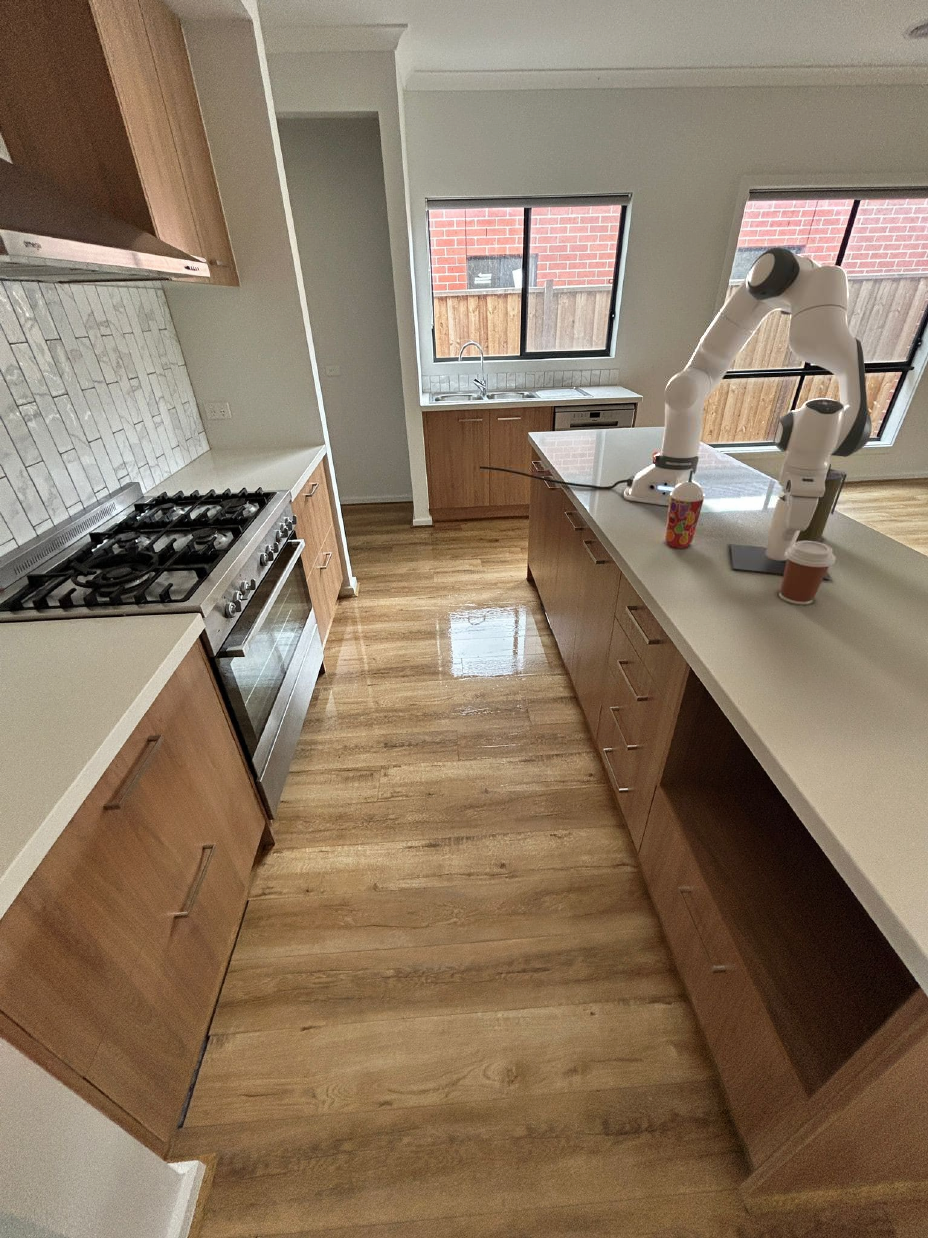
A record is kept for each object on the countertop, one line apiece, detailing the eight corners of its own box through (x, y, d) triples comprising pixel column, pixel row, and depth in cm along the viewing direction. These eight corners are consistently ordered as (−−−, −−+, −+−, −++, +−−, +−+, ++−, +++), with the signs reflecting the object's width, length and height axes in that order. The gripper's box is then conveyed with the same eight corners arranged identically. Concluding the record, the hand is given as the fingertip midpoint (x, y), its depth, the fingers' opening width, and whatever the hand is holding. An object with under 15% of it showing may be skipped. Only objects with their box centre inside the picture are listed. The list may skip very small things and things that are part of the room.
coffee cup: (764, 587, 117) (779, 538, 110) (805, 586, 116) (823, 537, 110) (784, 608, 109) (801, 556, 103) (828, 607, 108) (848, 555, 102)
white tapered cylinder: (755, 552, 130) (771, 495, 122) (781, 550, 130) (799, 493, 122) (771, 564, 124) (789, 504, 116) (798, 561, 124) (818, 502, 116)
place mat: (733, 569, 125) (733, 568, 124) (729, 545, 136) (730, 544, 136) (828, 580, 118) (828, 578, 118) (816, 553, 130) (816, 552, 130)
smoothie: (693, 539, 141) (708, 466, 130) (694, 551, 134) (710, 476, 124) (661, 536, 143) (674, 465, 133) (661, 548, 137) (674, 474, 126)
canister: (780, 541, 137) (803, 466, 127) (775, 527, 145) (796, 455, 135) (827, 545, 134) (854, 468, 123) (819, 530, 142) (844, 457, 131)
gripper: (780, 464, 125) (765, 517, 133) (792, 490, 109) (774, 549, 117) (809, 465, 123) (792, 519, 131) (827, 492, 107) (806, 552, 115)
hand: (784, 534), depth 123 cm, fingers closed on white tapered cylinder, 6 cm apart
